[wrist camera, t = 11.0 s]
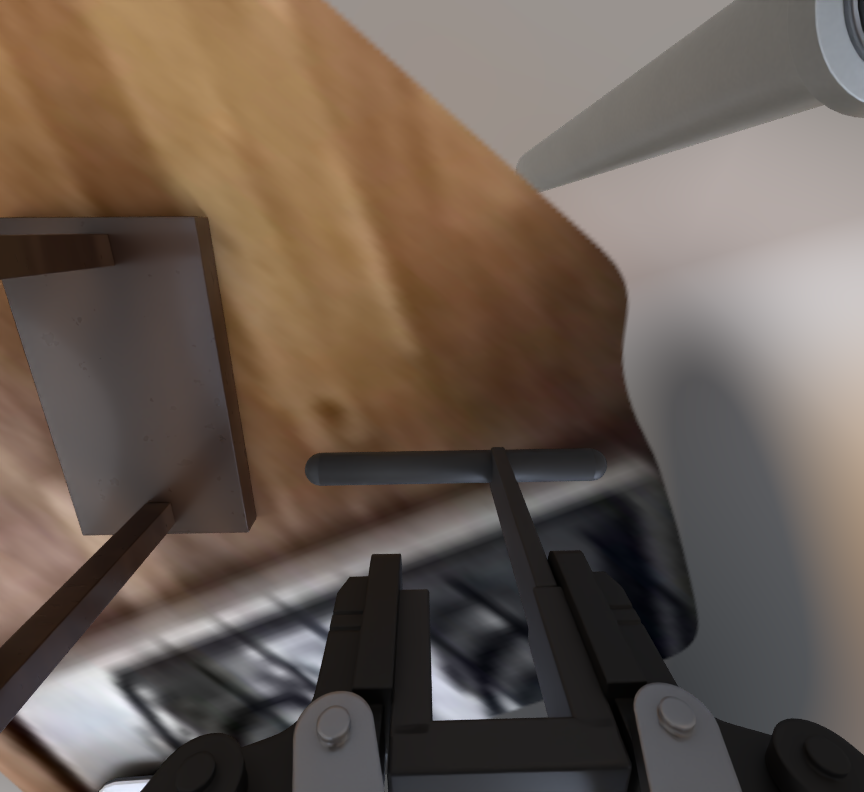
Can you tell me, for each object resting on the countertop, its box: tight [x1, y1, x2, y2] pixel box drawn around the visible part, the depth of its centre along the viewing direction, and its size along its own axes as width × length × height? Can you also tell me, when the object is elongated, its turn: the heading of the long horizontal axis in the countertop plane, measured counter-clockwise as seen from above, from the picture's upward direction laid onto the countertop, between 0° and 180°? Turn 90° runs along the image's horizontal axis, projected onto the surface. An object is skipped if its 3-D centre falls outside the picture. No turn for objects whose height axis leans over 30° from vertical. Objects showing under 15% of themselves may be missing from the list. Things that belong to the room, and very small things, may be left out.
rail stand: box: [0, 216, 256, 733], centre depth 17 cm, size 10×18×19 cm, turn 0°
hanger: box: [305, 447, 632, 792], centre depth 12 cm, size 11×2×11 cm, turn 90°
